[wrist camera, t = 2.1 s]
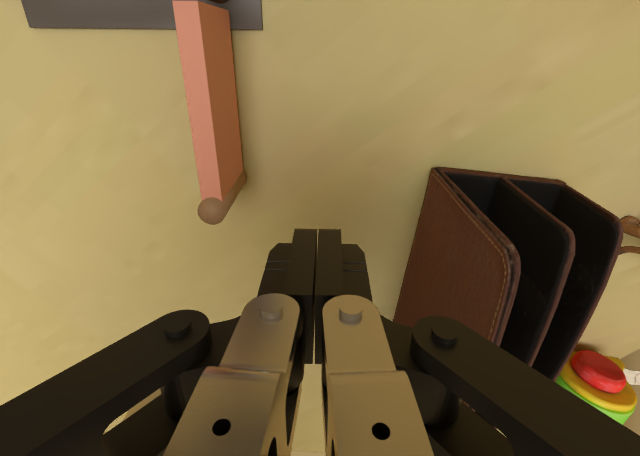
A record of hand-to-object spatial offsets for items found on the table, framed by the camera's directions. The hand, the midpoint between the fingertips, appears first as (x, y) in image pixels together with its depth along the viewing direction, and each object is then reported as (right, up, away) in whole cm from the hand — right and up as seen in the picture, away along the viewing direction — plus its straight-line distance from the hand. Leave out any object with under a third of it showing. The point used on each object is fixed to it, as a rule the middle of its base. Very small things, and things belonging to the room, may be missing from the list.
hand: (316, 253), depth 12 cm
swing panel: (-6, +9, +13) cm, 17 cm away
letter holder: (+12, -4, +20) cm, 24 cm away
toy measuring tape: (+28, -13, +25) cm, 40 cm away
